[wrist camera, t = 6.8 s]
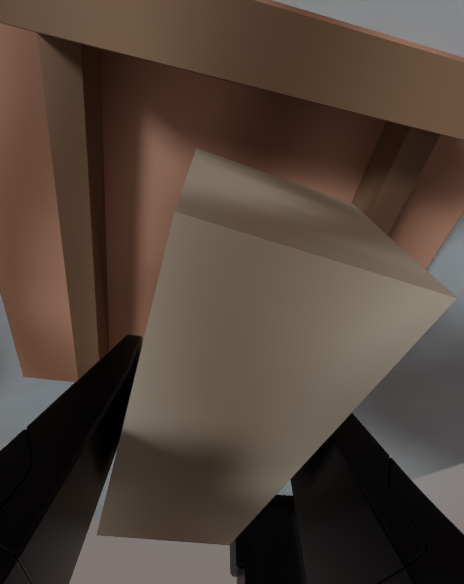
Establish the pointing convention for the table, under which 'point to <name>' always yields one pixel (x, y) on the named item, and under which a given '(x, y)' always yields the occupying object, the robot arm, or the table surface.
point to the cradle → (195, 145)
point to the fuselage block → (255, 349)
